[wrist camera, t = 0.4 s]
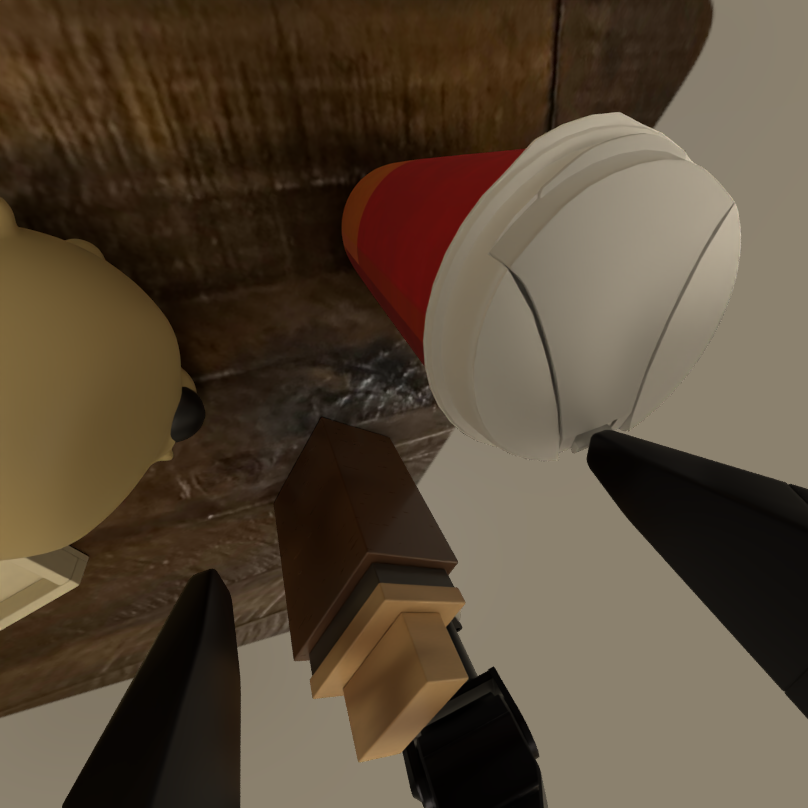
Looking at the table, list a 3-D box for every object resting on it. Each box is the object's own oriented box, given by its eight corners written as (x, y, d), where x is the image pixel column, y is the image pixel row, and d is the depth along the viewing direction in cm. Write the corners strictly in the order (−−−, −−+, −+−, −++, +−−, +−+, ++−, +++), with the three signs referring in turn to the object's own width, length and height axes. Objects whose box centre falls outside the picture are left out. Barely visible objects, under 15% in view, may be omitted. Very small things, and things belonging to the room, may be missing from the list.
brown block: (341, 514, 28) (385, 656, 21) (273, 503, 26) (293, 662, 18) (389, 437, 26) (459, 562, 18) (321, 416, 24) (367, 552, 16)
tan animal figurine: (-7, 344, 19) (52, 558, 18) (-580, 161, 8) (-502, 736, 7) (200, 286, 21) (264, 481, 20) (-8, 57, 9) (125, 512, 8)
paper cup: (471, 284, 23) (702, 418, 12) (340, 323, 21) (464, 519, 10) (461, 116, 18) (829, 70, 7) (294, 149, 17) (426, 160, 6)
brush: (382, 652, 20) (414, 757, 17) (305, 656, 18) (324, 778, 14) (448, 567, 18) (499, 666, 15) (371, 560, 16) (410, 674, 13)
